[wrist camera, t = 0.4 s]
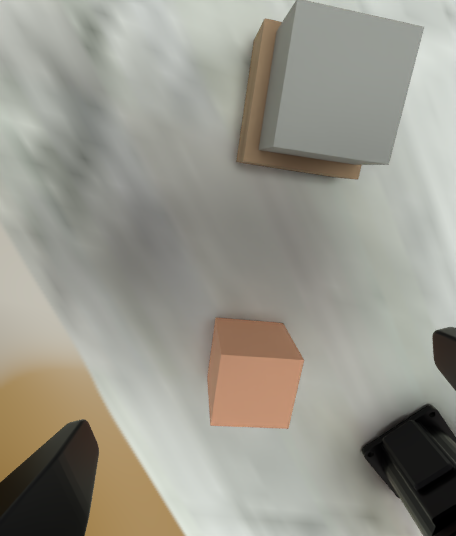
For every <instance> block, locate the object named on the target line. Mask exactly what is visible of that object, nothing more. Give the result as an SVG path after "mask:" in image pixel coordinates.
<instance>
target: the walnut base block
mask: <svg viewBox="0 0 456 536" xmlns="http://www.w3.org/2000/svg"><path fill="white" fill-rule="evenodd" d="M281 23H282V22H279V21H274V20H270V19H264V21H263V23H262V25H261V27H260V29H259V31H258V33H257V35H256V37H255V39H254V43H253V50H252V57H251V64H250V70H249V77H248V84H247V91H246V98H245V105H244V112H243V119H242V126H241V133H240V139H239V146H238V153H237V160H236V162H240V163H246V164H253V165H259V166H266V167H272V168H279V169H285V170H291V171H298V172H304V173H311V174H317V175H324V176H330V177H337V178H348V179H358V177H359V173H360V169H361V165H354V164H347V163H340V162H334V161H327V160H321V159H314V158H308V157H301V156H295V155H288V154H281V153H275V152H268V151H262V150H259V143H260V137H261V130H262V124H263V117H264V110H265V104H266V97H267V91H268V84H269V78H270V71H271V64H272V58H273V51H274V45H275V38H276V32H277V30H278V28H279V27H280V25H281Z"/></svg>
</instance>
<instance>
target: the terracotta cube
mask: <svg viewBox="0 0 456 536" xmlns="http://www.w3.org/2000/svg"><path fill="white" fill-rule="evenodd" d="M303 363H304V359H303V357H302V356H301V354H300V352H299V350H298V349H297V347H296V345H295V343H294V342H293V340H292V338H291V336H290V335H289V333H288V331H287V329H286V328H285V326H284V324H283V323H276V322H264V321H252V320H240V319H227V318H216V319H215V326H214V333H213V340H212V347H211V354H210V362H209V369H208V376H207V381H208V395H209V410H210V425H211V426H234V427H260V428H286V429H288V428H289V423H290V419H291V415H292V410H293V406H294V402H295V397H296V393H297V389H298V384H299V380H300V376H301V371H302V367H303Z"/></svg>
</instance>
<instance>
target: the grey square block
mask: <svg viewBox="0 0 456 536" xmlns="http://www.w3.org/2000/svg"><path fill="white" fill-rule="evenodd" d="M423 29H424V27H422V26H418V25H413V24H409V23H404V22H400V21H395V20H391V19H386V18H382V17H378V16H373V15H369V14H364V13H360V12H355V11H351V10H346V9H342V8H337V7H333V6H328V5H324V4H319V3H315V2H310V1H306V0H296V2H295V3H294V5H293V6H292V8H291V9H290V11H289V13H288V14H287V16H286V17H285V19H284V20H283V22H282V23H281V25H280V27H279V28H278V30H277V32H276V38H275V45H274V51H273V58H272V64H271V71H270V78H269V84H268V91H267V97H266V104H265V110H264V117H263V124H262V130H261V137H260V143H259V150H262V151H268V152H275V153H281V154H288V155H295V156H301V157H308V158H314V159H321V160H327V161H334V162H340V163H347V164H354V165H389V161H390V157H391V153H392V149H393V145H394V142H395V138H396V134H397V130H398V126H399V122H400V118H401V115H402V111H403V107H404V103H405V99H406V95H407V91H408V87H409V84H410V80H411V76H412V72H413V68H414V64H415V60H416V57H417V53H418V49H419V45H420V41H421V37H422V33H423Z"/></svg>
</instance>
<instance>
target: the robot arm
mask: <svg viewBox="0 0 456 536" xmlns="http://www.w3.org/2000/svg"><path fill="white" fill-rule="evenodd" d="M433 354H434V361H435V364H436V366H437V368H438V369H439V371H440V372H441V373H442V374H443V376H444V377H445V378H446V379H447V381H448V382H449V383H450V384H451V386H452V387H453V388H454V389H455V391H456V328H454V327H447V328H444V329H440V330H436V331H435V332H434V333H433ZM362 454H363V455H364V457H365V459H366V460H367V461H368V462H369V463H370V465H371V466H372V467H373V468H374V469H375V471H376V472H377V473H378V474H379V475H380V477H381V478H382V479H383V480H384V481H385V483H386V484H387V485H388V486H389V487H390V489H391V490H392V491H393V492H394V493H395V495H396V496H397V497H398V498H400V499H401V500H402V502H403V504H404V505H405V507H406V508H407V510H408V512H409V513H410V515H411V516H412V518H413V520H414V521H415V523H416V524H417V526H418V528H419V529H420V531H421V533H422V534H423V536H456V437H455V436H454V434H453V433H452V431H451V430H450V428H449V427H448V425H447V424H446V422H445V421H444V419H443V418H442V416H441V415H440V413H439V412H438V411H437V410H436V409H435V407H433V406H431V405H430V406H427V407H425V408H423V409H422V410H420V411H419V412H417V413H416V414H414V415H413V416H411V417H410V418H408V419H406V420H405V421H403V422H402V423H400V424H399V425H397V426H396V427H394V428H393V429H391V430H390V431H388V432H386V433H385V434H383V435H382V436H380V437H379V438H377V439H376V440H374V441H373V442H371V443H370V444H368V445H367V446H365V447H364V448H363V449H362ZM98 456H99V448H98V444H97V441H96V439H95V437H94V435H93V432H92V430H91V427H90V425H89V423H88V422H87V421H86V420H83V419H82V420H79V421H74V422H70V423H68V424H67V425H66V426H64V427H63V428H62V429H61V430H60V431H59V432H57V433H56V434H55V435H54V436H53V437H52V438H51V439H50V440H48V441H47V442H46V443H45V444H44V445H43V446H41V447H40V448H39V449H38V450H37V451H36V452H35V453H33V454H32V455H31V456H30V457H29V458H28V459H27V460H25V461H24V462H23V463H22V464H21V465H20V466H19V467H17V468H16V469H15V470H14V471H13V472H12V473H11V474H10V475H8V476H7V477H6V478H5V479H4V480H3V481H2V482H0V536H84V535H85V531H86V527H87V523H88V518H89V513H90V507H91V501H92V494H93V488H94V481H95V475H96V469H97V462H98Z"/></svg>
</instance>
